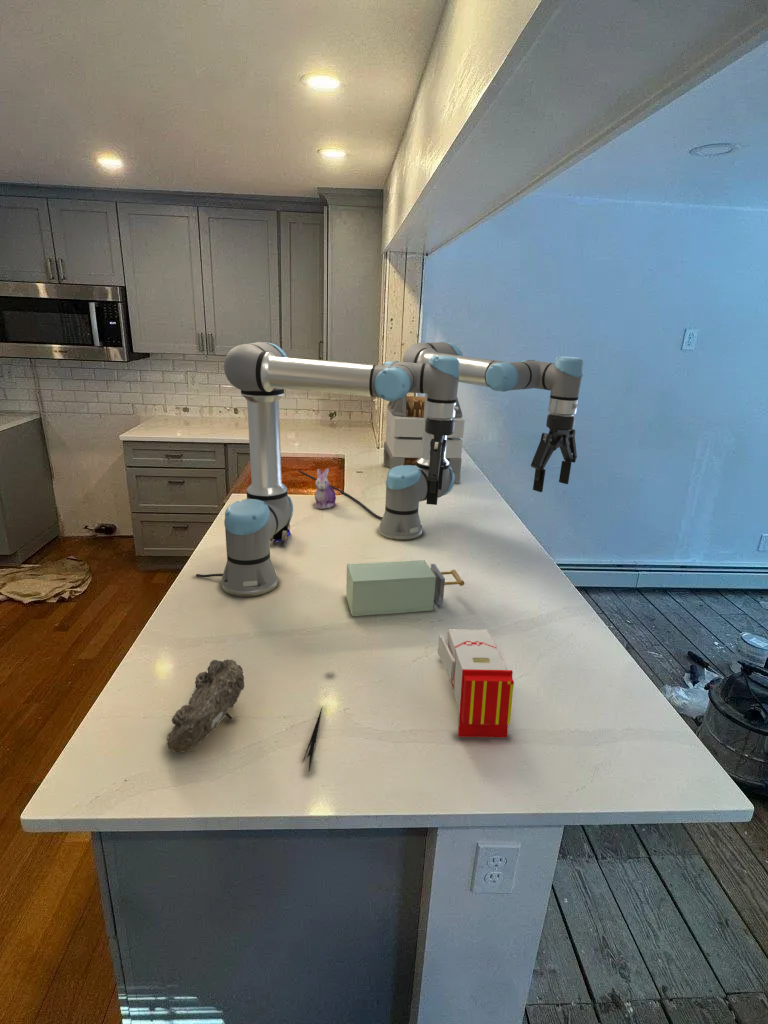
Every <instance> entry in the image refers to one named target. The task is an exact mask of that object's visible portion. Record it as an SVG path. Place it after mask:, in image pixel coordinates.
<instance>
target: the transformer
mask: <svg viewBox="0 0 768 1024" xmlns="http://www.w3.org/2000/svg"><path fill="white" fill-rule="evenodd" d="M407 394H408V393H407ZM407 394H406V395H405V396H404V397H403V398H402V399H400V400H397V401H388V404H387V405H386V413H385V414H386V415H385V423H386V428H385V438H384V442H383V466H384V467H388V468H389V470H390V469H392V468H394V467H396V466H401V465H404V466H405V465H413V466H416V463H417V460H418V459H419V458H420V457H421V452H422V436H423V420H424V404H425V396H415V395H414V396H413V395H412V396H411V395H407ZM455 406H458V410H455V417H454V418H453V419H454V421H455V425H454V433H453V434H452V435H448V436H447V443H446V455H445V458H446V459H447V460H448V461H449V466H450V467H451V468H452V470H453V471H452V472H453V473H454V477H455V480H454V484H455V483H456V484H459V483H461V472H462V461H463V460H462V453H463V442H464V441H463V440H462V439H463V438H464V431H465V430H464V429H465V419H464V418H463V411H462V408H461V405H460V402H459V398H458V397H457V400H456V405H455Z"/></svg>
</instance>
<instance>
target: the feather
mask: <svg viewBox="0 0 768 1024" xmlns="http://www.w3.org/2000/svg"><path fill="white" fill-rule="evenodd" d="M329 675H330V676H331V675H332V674H331V673H330V674H329ZM322 710H323V707H321V708H320V710H319V713H318V716H317V719H316V723H315V725H314V728H313V731H312V733H311V737H310V739H309V742H308V745H307V748H306V751H305V754H304V757H303V760H302V763H301V767H302V765H303V763H304V761H305V758H308V759H309V760H308V762H307V763H308V764H307V766H308V771H310V770H311V766H312V765H311V764H312V760H313V757H315V756H314V755H315V751H316V749H315V746H317V739H318V733H319V729H320V722H321V717H322V712H323V711H322ZM313 754H314V755H313ZM306 755H307V757H306Z"/></svg>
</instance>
